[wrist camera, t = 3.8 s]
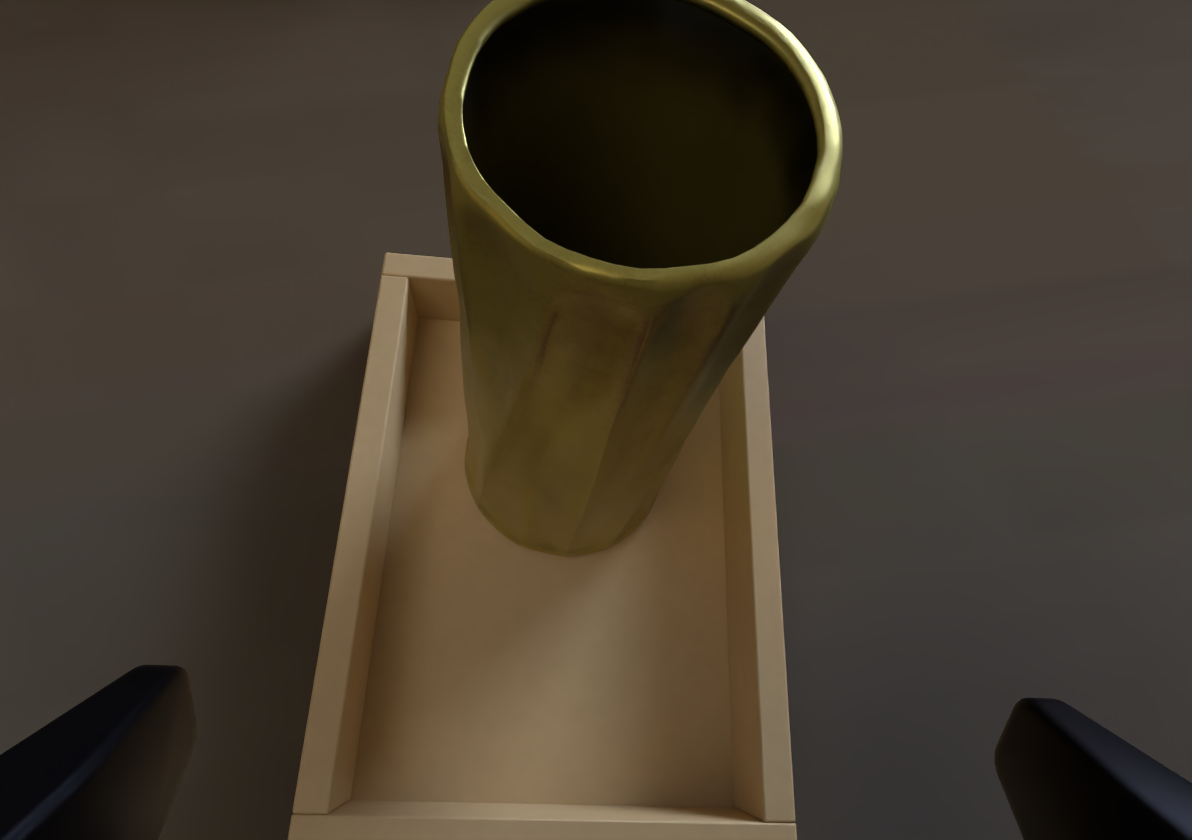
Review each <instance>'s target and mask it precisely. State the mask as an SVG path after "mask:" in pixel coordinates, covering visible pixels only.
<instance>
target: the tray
mask: <svg viewBox="0 0 1192 840" xmlns="http://www.w3.org/2000/svg"><path fill="white" fill-rule="evenodd" d="M467 438H468V419H467V412H466V405H465V399H464V390H463V373H462V360H461V344H460V308H459V298H458V292H457V287H456V282H455V276H454V270H453V261H452V258H441V257H429V256H418V255H407V254H396V253H385V256H384V262H383V268H382V276H381V280H380V286H379V292H378V298H377V304H376V310H375V316H374V322H373V328H372V334H371V340H370V346H369V352H368V358H367V364H366V370H365V376H364V382H363V388H362V394H361V400H360V406H359V412H358V419H357V425H356V431H355V437H354V443H353V449H352V455H351V461H350V467H349V473H348V479H347V485H346V491H345V497H344V503H343V509H342V515H341V521H340V527H339V533H338V539H337V545H336V551H335V557H334V563H333V569H332V575H331V582H330V588H329V594H328V600H327V606H326V612H325V618H324V624H323V630H322V636H321V642H320V648H319V654H318V660H317V666H316V672H315V678H314V684H313V690H312V696H311V702H310V708H309V714H308V720H307V726H306V732H305V738H304V745H303V751H302V757H301V763H300V769H299V775H298V781H297V787H296V793H295V799H294V805H293V813H294V814H293V815H292V816H291V822H290V828H289V834H288V840H797V833H796V824H795V823H793V822H795V806H794V790H793V774H792V758H791V741H790V725H789V709H788V693H787V677H786V661H785V645H784V629H783V613H782V597H781V581H780V564H779V548H778V532H777V516H776V500H775V484H774V468H773V452H772V436H771V420H770V404H769V387H768V371H767V355H766V339H765V323H764V316H763V318H762V320H761V321H760V323H759V324H758V326H757V327H756V329H755V331H754V332H753V334H752V335H751V337H750V338H749V340H748V341H747V343H746V344H745V346H744V347H743V348H742V350H741V351H740V353H739V354H738V356H737V357H736V358H735V360H734V361H733V363H732V364H731V365H730V367H729V369H728V370H727V372H726V373H725V375H724V377H723V378H722V380H721V382H720V384H719V385H718V387H717V389H716V390H715V392H714V394H713V395H712V397H711V398H710V400H709V402H708V403H707V405H706V406H705V408H704V410H703V411H702V413H701V415H700V416H699V418H698V420H697V422H696V424H695V426H694V427H693V429H692V431H691V432H690V434H689V435H688V437H687V438H686V440H685V442H684V444H683V446H682V449H681V451H680V453H679V455H678V457H677V459H676V461H675V463H674V465H673V467H672V468H671V470H670V472H669V474H668V475H667V477H666V478H665V480H664V482H663V483H662V485H661V487H660V489H659V492H658V494H657V497H656V500H655V502H654V504H653V506H652V509H651V511H650V513H649V515H648V516H647V517H646V518H645V519H644V520H643V522H642V523H641V524H640V525H639V526H638V527H637V528H636V529H634V530H633V531H632V532H631V533H630V534H628V535H627V536H626V537H624V538H623V539H622V540H620V541H619V542H617V543H615V544H614V545H612V546H610V547H608V548H606V549H603V550H599V551H596V552H592V553H587V554H582V555H577V556H567V557H565V556H558V555H553V554H548V553H543V552H540V551H536V550H532V549H529V548H526V547H523V546H520V545H518V544H516V543H515V542H513V541H511V540H509V539H508V538H507V537H505V536H504V535H503V534H502V533H500V532H499V531H498V530H497V529H496V528H495V527H494V526H493V525H492V524H491V523H490V522H489V521H488V520H487V519H486V518H485V517H484V515H483V514H482V513H481V511H480V510H479V509H478V507H477V505H476V503H475V501H474V499H473V497H472V494H471V492H470V489H469V486H468V482H467V478H466V474H465V451H466V445H467Z"/></svg>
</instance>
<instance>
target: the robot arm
mask: <svg viewBox="0 0 1192 840" xmlns="http://www.w3.org/2000/svg"><path fill="white" fill-rule="evenodd" d="M195 737H196V721H195V714H194V708H193V702H192V696H191V690H190V684H189V678H188V675H187V672H186V671H185V669H183V668H182V667H179V666H168V665H142V666H139V667H136V668H134V669H132V670H131V671H129V672H128V673H126V674H124V675H123V676H121V677H120V678H118V679H117V680H115V681H114V682H112V683H111V684H109V685H107V686H106V687H104V688H103V689H101V690H100V691H98V692H97V693H95V694H94V695H92V696H91V697H89V698H87V699H86V700H84V701H83V702H81V703H80V704H78V705H77V706H75V707H74V708H72V709H70V710H69V711H67V712H66V713H64V714H63V715H61V716H60V717H58V718H57V719H55V720H54V721H52V722H50V723H49V724H47V725H46V726H44V727H43V728H41V729H40V730H38V731H37V732H35V733H33V734H32V735H30V736H29V737H27V738H26V739H24V740H23V741H21V742H20V743H18V744H17V745H15V746H13V747H12V748H10V749H9V750H7V751H6V752H4V753H3V754H1V755H0V840H158V839H159V836H160V834H161V831H162V828H163V826H164V823H165V821H166V818H167V815H168V813H169V810H170V808H171V805H172V802H173V800H174V797H175V794H176V792H177V789H178V787H179V784H180V781H181V779H182V776H183V773H184V771H185V768H186V766H187V763H188V760H189V758H190V755H191V752H192V750H193V746H194V742H195ZM994 757H995V766H996V771H997V774H998V777H999V779H1000V782H1001V784H1002V787H1003V789H1004V791H1005V794H1006V796H1007V799H1008V801H1009V804H1010V806H1011V809H1012V811H1013V814H1014V816H1015V819H1016V821H1017V824H1018V826H1019V829H1020V831H1021V834H1022V836H1023V838H1024V840H1192V783H1190V782H1189V781H1187V780H1186V779H1184V778H1182V777H1181V776H1179V775H1178V774H1176V773H1175V772H1173V771H1171V770H1170V769H1168V768H1167V767H1165V766H1164V765H1162V764H1160V763H1159V762H1157V761H1156V760H1154V759H1153V758H1151V757H1149V756H1148V755H1146V754H1145V753H1143V752H1142V751H1140V750H1138V749H1137V748H1135V747H1134V746H1132V745H1131V744H1129V743H1127V742H1126V741H1124V740H1123V739H1121V738H1120V737H1118V736H1117V735H1115V734H1113V733H1112V732H1110V731H1109V730H1107V729H1106V728H1104V727H1102V726H1101V725H1099V724H1098V723H1096V722H1095V721H1093V720H1091V719H1090V718H1088V717H1087V716H1085V715H1084V714H1082V713H1080V712H1079V711H1077V710H1076V709H1074V708H1073V707H1071V706H1069V705H1068V704H1066V703H1064V702H1063V701H1060V700H1056V699H1047V698H1024V699H1021V700H1020V701H1019V702H1017V703H1016V704H1015V706H1014V708H1013V710H1012V712H1011V715H1010V717H1009V719H1008V721H1007V723H1006V726H1005V728H1004V730H1003V732H1002V735H1001V737H1000V739H999V741H998V744H997V746H996V749H995V755H994Z"/></svg>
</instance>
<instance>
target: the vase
mask: <svg viewBox="0 0 1192 840" xmlns="http://www.w3.org/2000/svg"><path fill="white" fill-rule="evenodd" d="M438 133H439V140H440V147H441V154H442V161H443V173H444V185H445V196H446V207H447V216H448V226H449V235H450V244H451V253H452V261H453V270H454V276H455V282H456V287H457V292H458V298H459V308H460V344H461V360H462V373H463V390H464V399H465V405H466V412H467V419H468V438H467V445H466V451H465V474H466V478H467V482H468V486H469V489H470V492H471V494H472V497H473V499H474V501H475V503H476V505H477V507H478V509H479V510H480V511H481V513H482V514H483V515H484V517H485V518H486V519H487V520H488V521H489V522H490V523H491V524H492V525H493V526H494V527H495V528H496V529H497V530H498V531H499V532H500V533H502V534H503V535H504V536H505V537H507V538H508V539H509V540H511V541H513V542H515V543H516V544H518V545H520V546H523V547H526V548H529V549H532V550H536V551H540V552H543V553H548V554H553V555H558V556H565V557H567V556H577V555H582V554H587V553H592V552H596V551H599V550H603V549H606V548H608V547H610V546H612V545H614V544H615V543H617V542H619V541H620V540H622V539H623V538H624V537H626V536H627V535H628V534H630V533H631V532H632V531H633V530H634V529H636V528H637V527H638V526H639V525H640V524H641V523H642V522H643V520H644V519H645V518H646V517H647V516H648V515H649V513H650V511H651V509H652V506H653V504H654V502H655V500H656V497H657V494H658V492H659V489H660V487H661V485H662V483H663V482H664V480H665V478H666V477H667V475H668V474H669V472H670V470H671V468H672V467H673V465H674V463H675V461H676V459H677V457H678V455H679V453H680V451H681V449H682V446H683V444H684V442H685V440H686V438H687V437H688V435H689V434H690V432H691V431H692V429H693V427H694V426H695V424H696V422H697V420H698V418H699V416H700V415H701V413H702V411H703V410H704V408H705V406H706V405H707V403H708V402H709V400H710V398H711V397H712V395H713V394H714V392H715V390H716V389H717V387H718V385H719V384H720V382H721V380H722V378H723V377H724V375H725V373H726V372H727V370H728V369H729V367H730V365H731V364H732V363H733V361H734V360H735V358H736V357H737V356H738V354H739V353H740V351H741V350H742V348H743V347H744V346H745V344H746V343H747V341H748V340H749V338H750V337H751V335H752V334H753V332H754V331H755V329H756V327H757V326H758V324H759V323H760V321H761V320H762V318H763V316H764V315H765V313H766V312H767V310H768V309H769V307H770V306H771V304H772V302H773V301H774V299H775V298H776V296H777V295H778V293H779V292H780V290H781V289H782V287H783V286H784V285H785V283H786V282H787V280H788V279H789V277H790V276H791V274H792V273H793V271H794V270H795V268H796V267H797V266H798V264H799V263H800V262H801V260H802V259H803V258H804V256H805V255H806V254H807V253H808V251H809V250H810V248H811V247H812V245H813V244H814V242H815V240H816V239H817V237H818V236H819V234H820V232H821V230H822V228H823V226H824V224H825V222H826V220H827V217H828V215H829V213H830V209H831V206H832V204H833V201H834V198H835V195H836V193H837V190H838V187H839V179H840V170H841V161H842V152H843V150H842V127H841V123H840V118H839V114H838V109H837V107H836V104H835V101H834V98H833V95H832V92H831V90H830V88H829V86H828V84H827V81H826V79H825V77H824V75H823V73H822V72H821V70H820V69H819V67H818V66H817V64H816V63H815V61H814V60H813V59H812V57H811V56H810V54H809V53H808V52H807V50H806V49H805V48H804V46H803V45H802V44H801V43H800V42H799V41H798V39H797V38H796V37H795V36H794V35H793V34H792V33H791V32H790V31H789V30H787V29H786V28H785V27H784V26H783V25H781V24H780V23H779V22H778V21H776V20H775V19H773V18H772V17H770V16H769V15H768V14H766V13H765V12H763V11H762V10H760V9H758V8H757V7H755V6H754V5H752V4H750V3H749V2H747V1H745V0H493V1H492V2H491V3H490V4H489V5H487V6H486V7H485V8H484V9H483V10H482V11H481V12H480V13H479V14H478V15H477V16H476V17H475V18H474V19H473V21H472V22H471V23H470V24H469V25H468V26H467V27H466V29H465V31H464V32H463V34H462V35H461V37H460V38H459V40H458V42H457V44H456V47H455V50H454V52H453V55H452V58H451V61H450V65H449V68H448V71H447V74H446V77H445V81H444V85H443V89H442V93H441V97H440V101H439V109H438Z"/></svg>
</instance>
